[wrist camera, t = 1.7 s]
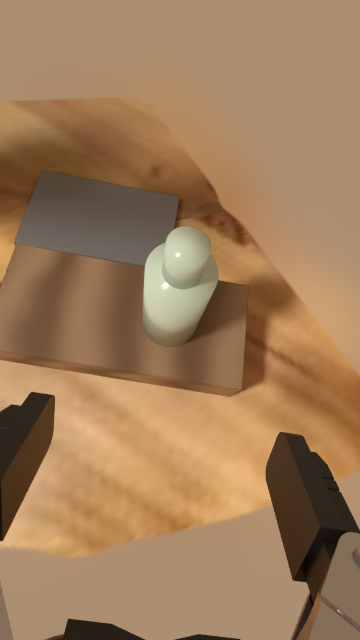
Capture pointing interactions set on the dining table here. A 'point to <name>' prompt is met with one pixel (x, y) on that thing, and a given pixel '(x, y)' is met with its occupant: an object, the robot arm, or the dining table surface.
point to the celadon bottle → (178, 286)
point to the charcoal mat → (96, 219)
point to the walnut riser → (113, 324)
